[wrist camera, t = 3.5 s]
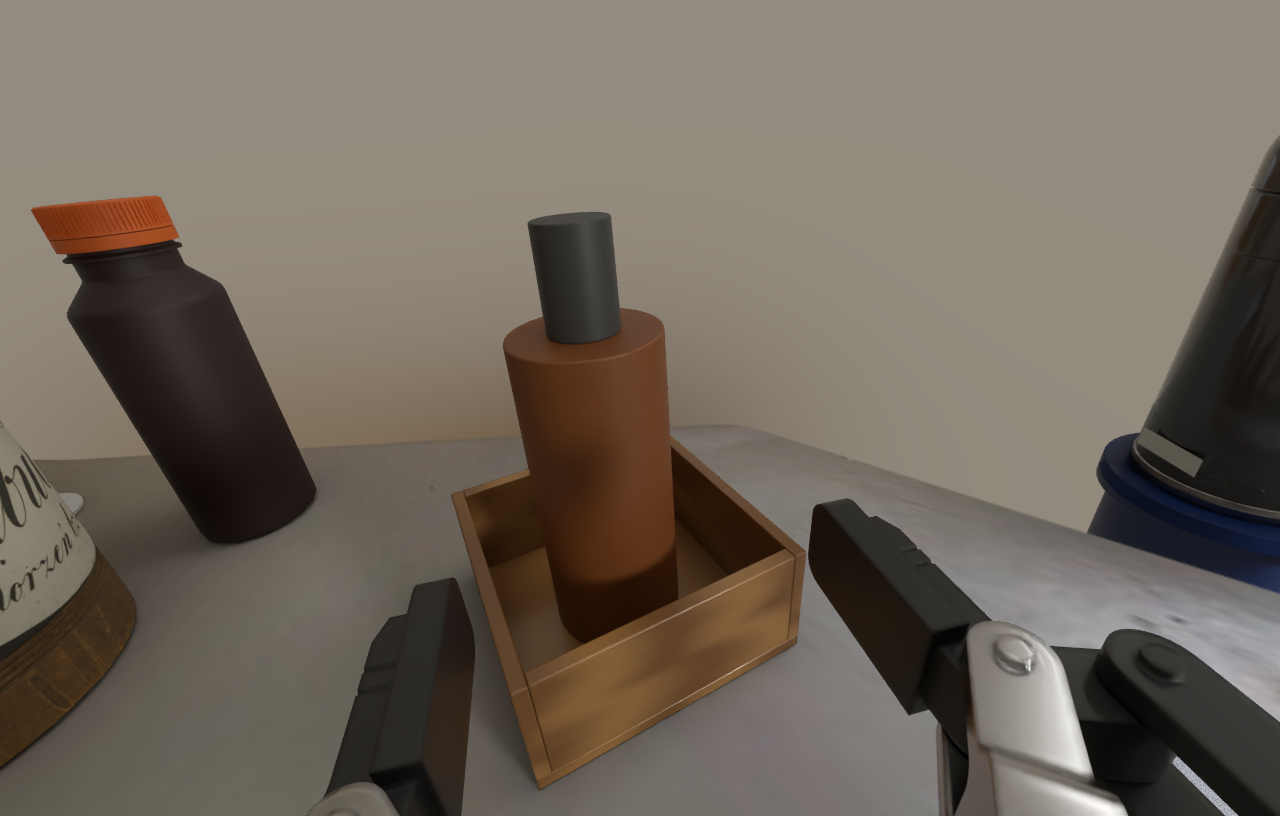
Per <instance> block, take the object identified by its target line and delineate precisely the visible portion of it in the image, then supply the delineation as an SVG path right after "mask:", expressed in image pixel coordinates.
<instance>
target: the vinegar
mask: <svg viewBox="0 0 1280 816" xmlns="http://www.w3.org/2000/svg"><path fill="white" fill-rule="evenodd" d="M31 211H32V213H33V215H34V216H35V218H36V220H37V221H38V223H39V225H40V226H41V228H42V230H43V232H44V233H45V235H46V237H47V239H48V240H49V242H50V244H51V245H52V247H53V249H54V250H55V252H56V254H67V258H65V259H64V260H62V261H63V263H66V264H73V266H74V268H75V269H76V271H77V273H78V275H79V276H80V278H81V280H82V284H81V286H80V288H79V290H78V292H77V294H76V296H75V298H74V299H73V301H72V303H71V305H70V307H69V309H68V312H67V318H68V320H69V322H70V324H71V325H72V327H73V328H74V330H75V332H76V333H77V335H78V336H79V338H80V340H81V341H82V343H83V345H84V346H85V348H86V349H87V351H88V353H89V354H90V356H91V357H92V359H93V361H94V362H95V364H96V365H97V367H98V369H99V370H100V372H101V373H102V375H103V376H104V378H105V380H106V382H107V383H108V385H109V386H110V388H111V389H112V391H113V393H114V394H115V396H116V397H117V399H118V401H119V402H120V404H121V406H122V407H123V409H124V411H125V412H126V414H127V415H128V417H129V419H130V420H131V422H132V423H133V425H134V427H135V428H136V430H137V431H138V433H139V435H140V436H141V438H142V439H143V441H144V443H145V444H146V446H147V448H148V449H149V451H150V452H151V454H152V456H153V457H154V459H155V460H156V462H157V464H158V465H159V467H160V468H161V470H162V472H163V473H164V475H165V477H166V478H167V480H168V481H169V483H170V485H171V486H172V488H173V489H174V491H175V493H176V494H177V496H178V497H179V499H180V501H181V502H182V504H183V505H184V507H185V509H186V510H187V512H188V514H189V515H190V517H191V518H192V520H193V522H194V523H195V525H196V526H197V528H198V530H199V531H200V533H202V534H203V535H204V536H205V537H206V538H208V539H209V540H212V541H218V542H234V541H242V540H246V539H250V538H254V537H258V536H261V535H263V534H265V533H268V532H270V531H273V530H275V529H277V528H279V527H281V526H283V525H284V524H286V523H288V522H290V521H292V520H293V519H294V518H296V517H297V516H298V515H299V514H301V513H302V512H303V511H304V510H305V509H306V508H307V507H308V506H309V504H310V503H311V502H312V501H313V499H314V496H315V493H316V487H315V484H314V482H313V480H312V478H311V475H310V473H309V471H308V469H307V467H306V465H305V462H304V460H303V458H302V456H301V454H300V451H299V449H298V447H297V445H296V443H295V441H294V438H293V436H292V434H291V432H290V430H289V427H288V425H287V423H286V421H285V419H284V417H283V414H282V412H281V410H280V408H279V406H278V403H277V401H276V399H275V397H274V395H273V393H272V391H271V388H270V386H269V384H268V382H267V379H266V377H265V375H264V373H263V371H262V369H261V366H260V364H259V362H258V360H257V358H256V356H255V353H254V351H253V349H252V347H251V345H250V342H249V340H248V338H247V336H246V334H245V331H244V329H243V327H242V325H241V323H240V321H239V319H238V316H237V314H236V312H235V310H234V307H233V305H232V303H231V301H230V299H229V297H228V294H227V292H226V290H225V288H224V287H223V285H222V284H221V283H219V282H218V281H216V280H214V279H212V278H210V277H208V276H206V275H204V274H202V273H200V272H198V271H196V270H195V269H193V268H191V267H189V266H187V265H186V264H185V263H184V262H183V259H182V257H181V255H180V253H179V251H178V249H177V248H179V247H182V244H181V243H179V242H175V241H173V239H175V238H179V235H178V233H177V231H176V229H175V227H174V225H173V223H172V220H171V218H170V216H169V214H168V212H167V209H166V207H165V206H164V203H163V201H162V199H161V197H158V196H143V197H131V198H120V199H109V200H99V201H89V202H78V203H69V204H60V205H51V206H42V207H35V208H32V210H31Z"/></svg>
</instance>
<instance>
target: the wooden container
mask: <svg viewBox="0 0 1280 816" xmlns="http://www.w3.org/2000/svg"><path fill="white" fill-rule="evenodd" d="M135 613H136V609H135V602H134V599H133V597H132V595H131V594H130V592H129V591H128V589H127V588H126V586H125V585H124V583H123V582H122V581H121V579H120V578H119V576H118V575H117V574H116V572H115V571H114V570H113V568H112V567H111V565H110V564H109V563H108V561H107V560H106V559H105V558H104V556H103V555H102V553H101V552H100V551H99V550H98V548H97V546H96V545H95V543H94V542H93V540H92V538H91V537H90V536H89V534H88V533H87V531H86V530H85V529H84V527H83V526H82V524H81V523H80V522H79V521H78V519H77V518H76V517H75V515H74V514H73V513H72V511H71V510H70V509H69V507H68V506H67V505H66V503H65V502H64V500H63V499H62V498H61V497H60V495H59V494H58V493H57V491H56V490H55V489H54V488H53V486H52V485H51V484H50V482H49V481H48V480H47V479H46V477H45V476H44V475H43V473H42V472H41V471H40V469H39V468H38V467H37V466H36V464H35V463H34V462H33V461H32V460H31V458H30V457H29V456H28V455H27V453H26V452H25V451H24V450H23V449H22V448H21V446H20V445H19V444H18V443H17V441H16V440H15V439H14V438H13V436H12V435H11V434H10V432H9V431H8V430H7V429H6V427H5V426H4V425H3V424H2V422H1V421H0V767H1V766H2V765H4V764H5V763H6V762H8V761H9V760H10V759H12V758H13V757H14V756H16V755H17V754H18V753H20V752H21V751H22V750H23V749H25V748H26V747H27V746H28V745H30V744H31V743H32V742H33V741H35V740H36V739H37V738H38V737H39V736H41V735H42V734H43V733H44V732H45V731H47V730H48V729H49V728H50V727H51V726H53V725H54V724H55V723H56V722H57V721H58V720H59V719H60V718H62V717H63V716H64V715H65V714H66V713H67V712H68V711H69V710H70V709H71V708H72V707H73V706H74V705H75V704H76V703H77V702H78V701H79V700H80V699H81V698H82V697H83V696H84V695H85V694H86V693H87V692H88V691H89V690H90V689H91V688H92V687H93V686H94V685H95V684H96V683H97V682H98V680H99V679H100V678H101V677H102V676H103V675H104V674H105V673H106V671H107V670H108V669H109V668H110V666H111V665H112V663H113V662H114V660H115V659H116V658H117V656H118V655H119V654H120V652H121V651H122V649H123V647H124V645H125V643H126V642H127V640H128V638H129V636H130V633H131V631H132V629H133V627H134V623H135V617H136V614H135Z"/></svg>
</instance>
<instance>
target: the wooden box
mask: <svg viewBox="0 0 1280 816" xmlns="http://www.w3.org/2000/svg"><path fill="white" fill-rule="evenodd" d="M670 443H671V462H672V481H673V500H674V519H675V537H676V556H677V575H678V594H679V596H678V600H676V601H674V602H672V603H670V604H668V605H666V606H664V607H661V608H659V609H657V610H655V611H653V612H651V613H649V614H647V615H645V616H643V617H640V618H638V619H636V620H634V621H632V622H630V623H628V624H626V625H624V626H622V627H619V628H617V629H615V630H613V631H611V632H609V633H607V634H605V635H603V636H600V637H598V638H596V639H594V640H592V641H590V642H588V643H586V644H585V643H583V642H581V641H580V640H578V639H577V638H575V637H574V636H573V635H572V634H571V633H570V632H569V631H568V630H567V629H566V627H565V626H564V624H563V622H562V620H561V617H560V614H559V610H558V605H557V600H556V595H555V591H554V586H553V581H552V576H551V572H550V567H549V562H548V558H547V553H546V548H545V543H544V539H543V534H542V529H541V524H540V520H539V515H538V510H537V506H536V501H535V496H534V491H533V487H532V482H531V477H530V472H529V469H528V470H525V471H522V472H519V473H515V474H512V475H509V476H506V477H503V478H500V479H497V480H494V481H491V482H488V483H485V484H481V485H478V486H475V487H472V488H469V489H466V490H464V491H460V492H457V493H454V494H452V495H451V497H452V500H453V504H454V507H455V510H456V514H457V517H458V521H459V524H460V528H461V531H462V534H463V538H464V541H465V545H466V548H467V551H468V555H469V558H470V562H471V565H472V569H473V572H474V575H475V579H476V582H477V586H478V589H479V593H480V596H481V599H482V603H483V606H484V610H485V613H486V616H487V620H488V623H489V627H490V630H491V634H492V637H493V640H494V644H495V647H496V651H497V654H498V658H499V661H500V664H501V668H502V671H503V675H504V678H505V681H506V685H507V688H508V692H509V695H510V698H511V702H512V705H513V708H514V711H515V714H516V718H517V721H518V724H519V727H520V731H521V734H522V737H523V740H524V743H525V747H526V750H527V753H528V756H529V760H530V763H531V766H532V769H533V772H534V776H535V779H536V782H537V785H538V788H539V789H542V788H544V787H545V786H547V785H549V784H551V783H552V782H554V781H556V780H558V779H559V778H561V777H563V776H565V775H566V774H568V773H570V772H572V771H573V770H575V769H577V768H579V767H580V766H582V765H584V764H586V763H587V762H589V761H591V760H593V759H594V758H596V757H598V756H600V755H601V754H603V753H605V752H607V751H608V750H610V749H612V748H614V747H615V746H617V745H619V744H621V743H622V742H624V741H626V740H628V739H629V738H631V737H633V736H635V735H637V734H638V733H640V732H642V731H644V730H645V729H647V728H649V727H651V726H652V725H654V724H656V723H658V722H659V721H661V720H663V719H665V718H666V717H668V716H670V715H672V714H673V713H675V712H677V711H679V710H680V709H682V708H684V707H686V706H687V705H689V704H691V703H693V702H694V701H696V700H698V699H700V698H701V697H703V696H705V695H707V694H708V693H710V692H712V691H714V690H715V689H717V688H719V687H721V686H722V685H724V684H726V683H728V682H729V681H731V680H733V679H735V678H736V677H738V676H740V675H742V674H744V673H745V672H747V671H749V670H751V669H752V668H754V667H756V666H758V665H759V664H761V663H763V662H765V661H766V660H768V659H770V658H772V657H773V656H775V655H777V654H779V653H780V652H782V651H784V650H786V649H787V648H789V647H791V646H793V645H794V644H796V643H797V634H798V625H799V616H800V606H801V597H802V587H803V578H804V569H805V559H806V551H805V550H804V549H803V548H802V547H800V546H799V545H798V544H797V543H796V542H795V541H793V540H792V539H791V538H790V537H789V536H788V535H786V534H785V533H784V532H783V531H782V530H781V529H779V528H778V527H777V526H776V525H775V524H774V523H772V522H771V521H770V520H769V519H768V518H767V517H765V516H764V515H763V514H762V513H761V512H760V511H758V510H757V509H756V508H755V507H754V506H753V505H751V504H750V503H749V502H748V501H747V500H746V499H744V498H743V497H742V496H741V495H740V494H739V493H737V492H736V491H735V490H734V489H733V488H732V487H730V486H729V485H728V484H727V483H726V482H725V481H723V480H722V479H721V478H720V477H719V476H717V475H716V474H715V473H714V472H713V471H712V470H710V469H709V468H708V467H707V466H706V465H705V464H703V463H702V462H701V461H700V460H699V459H698V458H696V457H695V456H694V455H693V454H692V453H691V452H689V451H688V450H687V449H686V448H685V447H684V446H682V445H681V444H680V443H679V442H678V441H677V440H675V439H674V438H673V437H672V436H671V435H670Z"/></svg>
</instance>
